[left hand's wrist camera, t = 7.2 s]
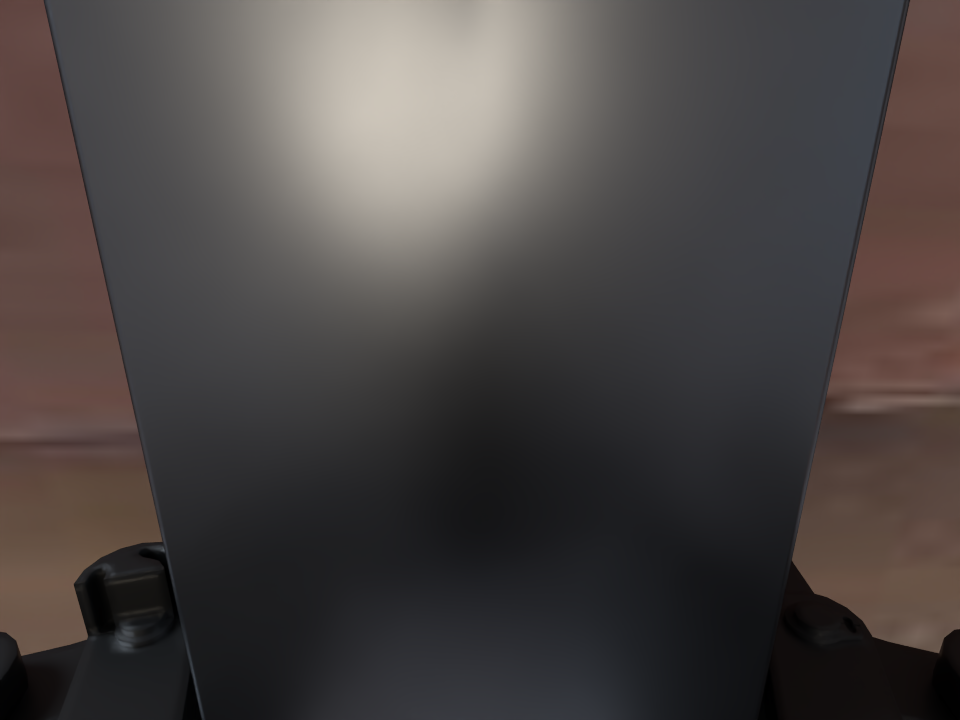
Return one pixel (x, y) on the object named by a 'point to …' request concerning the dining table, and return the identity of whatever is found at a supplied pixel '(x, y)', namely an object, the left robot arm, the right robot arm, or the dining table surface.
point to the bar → (478, 333)
